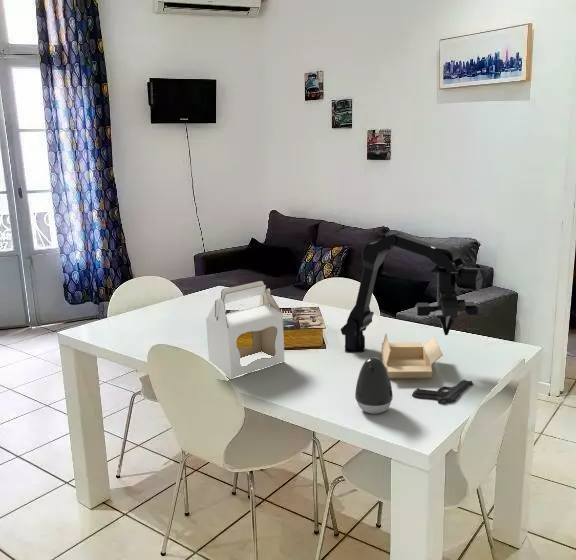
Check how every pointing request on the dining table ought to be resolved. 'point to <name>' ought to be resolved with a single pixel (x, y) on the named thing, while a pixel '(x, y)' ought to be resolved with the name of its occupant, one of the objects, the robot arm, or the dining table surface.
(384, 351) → the flap
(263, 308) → the gable box
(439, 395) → the handgun
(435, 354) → the flap
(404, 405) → the dining table surface
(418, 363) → the carton
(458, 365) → the dining table surface
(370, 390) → the dark grey egg device
